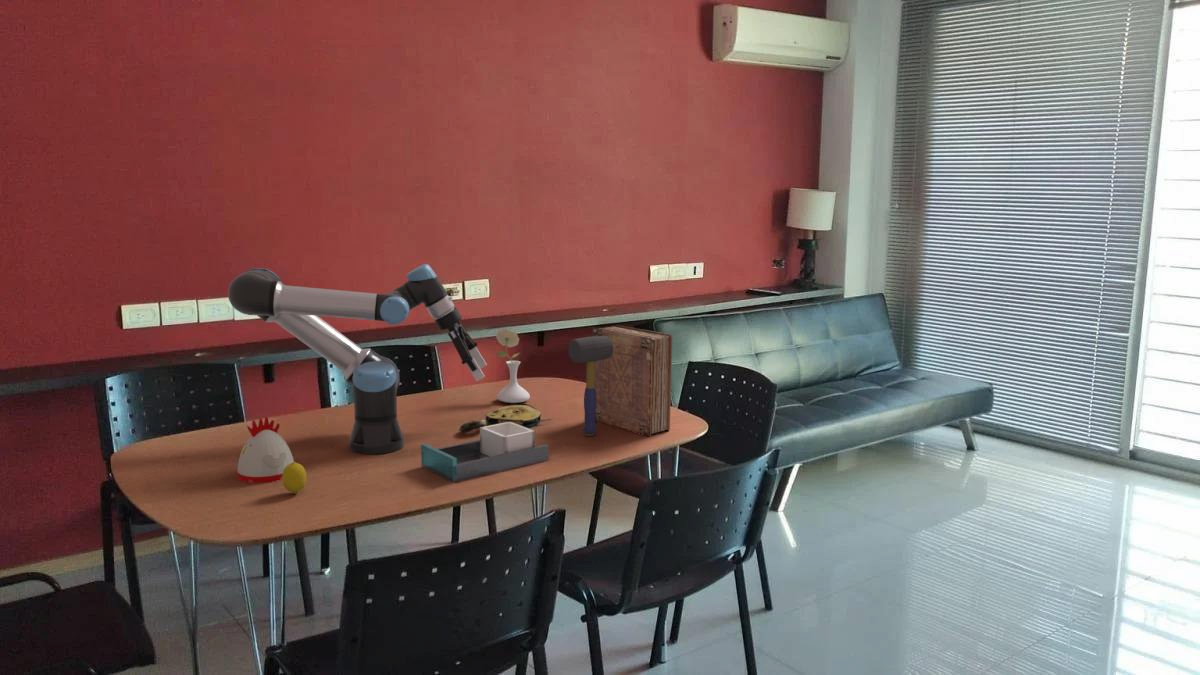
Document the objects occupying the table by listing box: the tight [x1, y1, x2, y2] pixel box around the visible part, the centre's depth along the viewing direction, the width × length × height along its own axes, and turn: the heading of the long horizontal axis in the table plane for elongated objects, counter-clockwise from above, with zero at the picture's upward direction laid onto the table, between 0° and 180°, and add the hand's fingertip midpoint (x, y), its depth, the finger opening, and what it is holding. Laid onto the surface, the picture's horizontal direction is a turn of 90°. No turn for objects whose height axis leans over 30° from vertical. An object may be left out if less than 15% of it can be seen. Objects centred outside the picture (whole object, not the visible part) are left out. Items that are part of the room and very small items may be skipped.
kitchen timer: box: [236, 416, 295, 484], centre depth 230 cm, size 14×14×15 cm
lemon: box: [281, 461, 308, 495], centre depth 217 cm, size 6×6×8 cm
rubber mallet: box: [567, 336, 613, 437], centre depth 267 cm, size 12×8×30 cm, turn 124°
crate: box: [479, 422, 536, 457], centre depth 246 cm, size 10×12×7 cm
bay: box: [420, 439, 549, 483], centre depth 242 cm, size 30×16×6 cm, turn 130°
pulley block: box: [458, 403, 552, 433], centre depth 278 cm, size 14×6×30 cm
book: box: [591, 324, 673, 437], centre depth 278 cm, size 25×9×30 cm, turn 44°
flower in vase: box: [495, 328, 531, 404], centre depth 307 cm, size 13×11×25 cm
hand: (482, 372), depth 271 cm, fingers open, 13 cm apart
